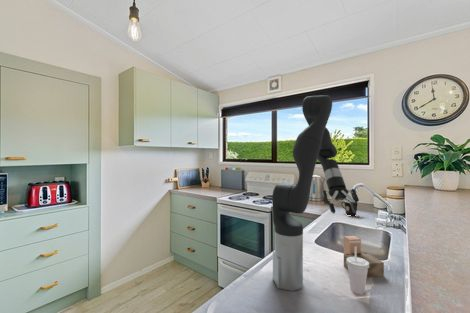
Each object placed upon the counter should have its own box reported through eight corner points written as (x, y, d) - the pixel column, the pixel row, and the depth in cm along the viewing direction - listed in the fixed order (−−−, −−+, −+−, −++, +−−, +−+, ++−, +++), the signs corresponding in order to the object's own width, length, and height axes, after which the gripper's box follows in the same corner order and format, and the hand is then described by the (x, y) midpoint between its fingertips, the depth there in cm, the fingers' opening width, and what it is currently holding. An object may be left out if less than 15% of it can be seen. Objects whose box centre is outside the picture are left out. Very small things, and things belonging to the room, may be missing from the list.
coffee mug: (360, 217, 157) (360, 203, 157) (347, 217, 157) (347, 202, 157) (351, 212, 169) (351, 199, 169) (340, 212, 169) (340, 199, 169)
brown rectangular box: (357, 278, 77) (357, 263, 77) (343, 267, 85) (343, 253, 85) (383, 276, 79) (383, 262, 79) (367, 265, 87) (367, 252, 87)
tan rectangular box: (350, 265, 86) (350, 240, 86) (343, 260, 90) (343, 236, 90) (361, 265, 86) (361, 239, 86) (354, 260, 91) (354, 235, 91)
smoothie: (348, 283, 74) (348, 241, 74) (370, 290, 70) (371, 246, 70) (343, 292, 70) (344, 247, 70) (367, 300, 65) (367, 253, 65)
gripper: (320, 176, 102) (329, 209, 92) (352, 174, 101) (365, 208, 91) (317, 184, 108) (325, 216, 98) (347, 182, 107) (359, 215, 97)
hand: (344, 212), depth 95 cm, fingers open, 8 cm apart
